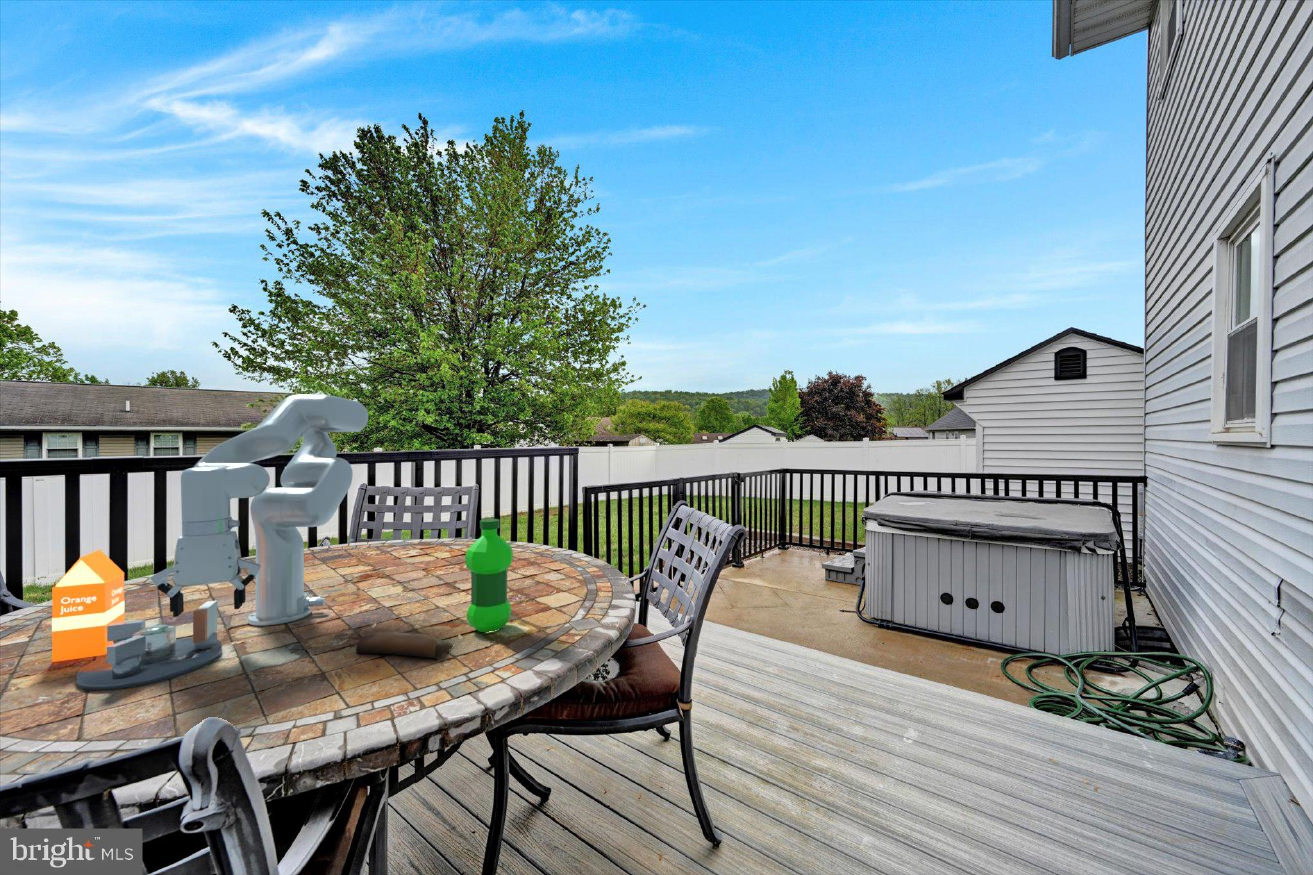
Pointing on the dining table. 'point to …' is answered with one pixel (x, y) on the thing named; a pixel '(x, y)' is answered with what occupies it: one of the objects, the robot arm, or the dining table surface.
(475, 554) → the plastic bottle
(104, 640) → the orange juice
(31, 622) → the dining table surface
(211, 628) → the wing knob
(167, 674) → the tribrach base
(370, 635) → the sunglasses case
